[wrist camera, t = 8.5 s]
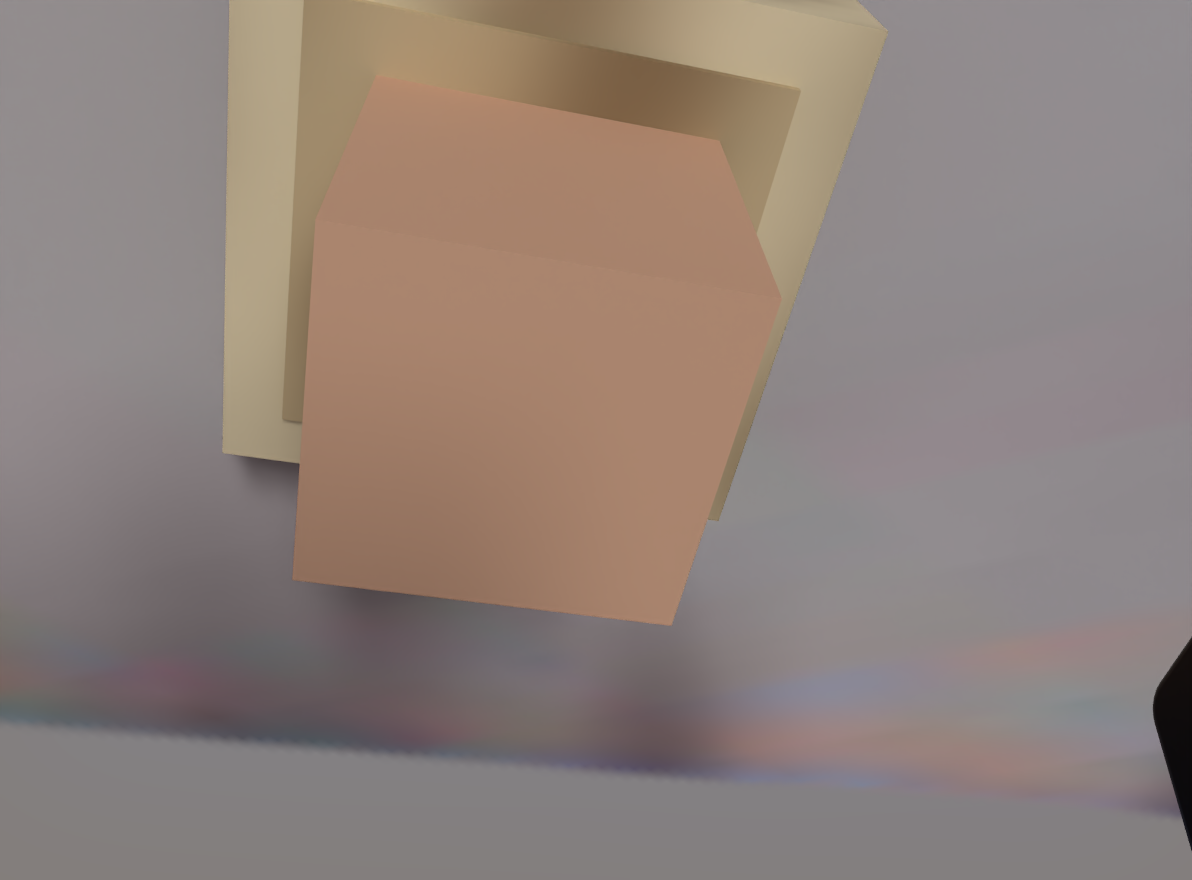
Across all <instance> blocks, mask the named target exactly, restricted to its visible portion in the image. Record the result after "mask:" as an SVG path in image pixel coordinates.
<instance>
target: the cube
mask: <svg viewBox="0 0 1192 880" xmlns="http://www.w3.org/2000/svg"><path fill="white" fill-rule="evenodd" d="M781 300H782V297H781V295H780V292H779V290H778V287H777V285H776V282H775V280H774V277H773V274H772V272H771V269H770V267H769V264H768V262H767V259H766V257H765V254H764V252H763V249H762V247H761V244H760V242H759V239H758V237H757V234H756V232H755V229H754V227H753V224H752V221H751V219H750V216H749V214H748V211H747V209H746V206H745V204H744V201H743V199H742V196H741V194H740V191H739V189H738V186H737V184H736V181H735V179H734V176H733V174H732V171H731V168H730V166H729V163H728V161H727V158H726V156H725V153H724V151H723V148H722V146H721V143H720V141H719V140H713V139H708V138H703V137H698V136H692V135H687V134H682V133H677V132H672V131H666V130H661V129H656V128H651V127H645V126H640V125H635V124H630V123H625V122H619V121H614V120H609V119H604V118H598V117H593V116H588V115H583V114H578V113H572V112H567V111H562V110H557V109H551V108H546V107H541V106H536V105H531V104H525V103H520V102H515V101H510V100H504V99H499V98H494V97H489V96H484V95H478V94H473V93H468V92H463V91H457V90H452V89H447V88H442V87H437V86H431V85H426V84H421V83H416V82H410V81H405V80H400V79H395V78H390V77H384V76H379V75H376V76H375V79H374V81H373V84H372V86H371V88H370V91H369V93H368V95H367V98H366V100H365V103H364V105H363V107H362V110H361V112H360V114H359V117H358V119H357V122H356V124H355V126H354V129H353V131H352V133H351V136H350V138H349V141H348V143H347V145H346V148H345V150H344V152H343V155H342V157H341V160H340V162H339V164H338V167H337V169H336V171H335V174H334V176H333V179H332V181H331V183H330V186H329V188H328V190H327V193H326V195H325V198H324V200H323V202H322V205H321V207H320V209H319V212H318V214H317V217H316V219H315V233H314V249H313V264H312V280H311V296H310V311H309V327H308V342H307V358H306V374H305V389H304V405H303V420H302V436H301V452H300V467H299V483H298V498H297V514H296V530H295V545H294V561H293V577H292V580H296V581H304V582H312V583H320V584H329V585H337V586H345V587H354V588H362V589H370V590H379V591H387V592H395V593H403V594H412V595H420V596H428V597H437V598H445V599H453V600H462V601H470V602H478V603H487V604H495V605H503V606H511V607H520V608H528V609H536V610H545V611H553V612H561V613H570V614H578V615H586V616H594V617H603V618H611V619H619V620H628V621H636V622H644V623H653V624H661V625H669V626H671V625H672V623H673V620H674V617H675V614H676V611H677V608H678V605H679V602H680V599H681V596H682V593H683V590H684V587H685V584H686V581H687V578H688V575H689V572H690V569H691V566H692V563H693V560H694V558H695V555H696V552H697V549H698V546H699V543H700V540H701V537H702V534H703V531H704V528H705V525H706V522H707V519H708V516H709V513H710V510H711V507H712V504H713V501H714V498H715V495H716V493H717V490H718V487H719V484H720V481H721V478H722V475H723V472H724V469H725V466H726V463H727V460H728V457H729V454H730V451H731V448H732V445H733V442H734V439H735V436H736V433H737V430H738V427H739V425H740V422H741V419H742V416H743V413H744V410H745V407H746V404H747V401H748V398H749V395H750V392H751V389H752V386H753V383H754V380H755V377H756V374H757V371H758V368H759V365H760V362H761V360H762V357H763V354H764V351H765V348H766V345H767V342H768V339H769V336H770V333H771V330H772V327H773V324H774V321H775V318H776V315H777V312H778V309H779V306H780V303H781Z"/></svg>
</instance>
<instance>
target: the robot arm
mask: <svg viewBox="0 0 1192 880" xmlns="http://www.w3.org/2000/svg"><path fill="white" fill-rule="evenodd" d="M1153 717H1154V722H1155V726H1156V729H1157V733H1158V736H1159V740H1160V743H1161V746H1162V750H1163V753H1164V757H1165V760H1166V764H1167V767H1168V771H1169V774H1170V778H1171V781H1172V785H1173V788H1174V791H1175V795H1176V798H1177V802H1178V805H1179V809H1180V812H1181V816H1182V819H1183V823H1184V826H1185V830H1186V833H1187V836H1188V840H1189V843H1190V846H1191V850H1192V637H1191V639H1190V640H1189V642H1188V643H1187V645H1186V646H1185V647H1184V649H1183V650H1182V652H1181V653H1180V655H1179V656H1178V658H1177V659H1176V660H1175V662H1174V663H1173V665H1172V666H1171V668H1170V669H1169V671H1168V672H1167V674H1166V675H1165V676H1164V678H1163V679H1162V681H1161V682H1160V684H1159V686H1158V687H1157V690H1156V693H1155V696H1154V702H1153Z"/></svg>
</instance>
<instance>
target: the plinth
mask: <svg viewBox="0 0 1192 880" xmlns="http://www.w3.org/2000/svg"><path fill="white" fill-rule="evenodd" d="M887 34H888V31H887V30H886V29H885V28H884V27H883V26H882V25H881V24H880V23H879V22H878V21H877V20H876V19H875V18H874V17H873V16H872V15H871V14H870V13H869V12H868V11H867V10H866V9H865V8H864V7H863V6H862V5H861V4H860V3H859V2H858V1H857V0H230V3H229V68H228V133H227V198H226V263H225V329H224V394H223V453H226V454H234V455H241V456H248V457H256V458H263V459H270V460H277V461H285V462H292V463H299V464H300V452H301V436H302V420H303V405H304V389H305V374H306V358H307V342H308V327H309V311H310V296H311V280H312V264H313V249H314V233H315V219H316V217H317V214H318V212H319V209H320V207H321V205H322V202H323V200H324V198H325V195H326V193H327V190H328V188H329V186H330V183H331V181H332V179H333V176H334V174H335V171H336V169H337V167H338V164H339V162H340V160H341V157H342V155H343V152H344V150H345V148H346V145H347V143H348V141H349V138H350V136H351V133H352V131H353V129H354V126H355V124H356V122H357V119H358V117H359V114H360V112H361V110H362V107H363V105H364V103H365V100H366V98H367V95H368V93H369V91H370V88H371V86H372V84H373V81H374V79H375V76H376V75H379V76H384V77H390V78H395V79H400V80H405V81H410V82H416V83H421V84H426V85H431V86H437V87H442V88H447V89H452V90H457V91H463V92H468V93H473V94H478V95H484V96H489V97H494V98H499V99H504V100H510V101H515V102H520V103H525V104H531V105H536V106H541V107H546V108H551V109H557V110H562V111H567V112H572V113H578V114H583V115H588V116H593V117H598V118H604V119H609V120H614V121H619V122H625V123H630V124H635V125H640V126H645V127H651V128H656V129H661V130H666V131H672V132H677V133H682V134H687V135H692V136H698V137H703V138H708V139H713V140H719V141H720V143H721V146H722V148H723V151H724V153H725V156H726V158H727V161H728V163H729V166H730V168H731V171H732V174H733V176H734V179H735V181H736V184H737V186H738V189H739V191H740V194H741V196H742V199H743V201H744V204H745V206H746V209H747V211H748V214H749V216H750V219H751V221H752V224H753V227H754V229H755V232H756V234H757V237H758V239H759V242H760V244H761V247H762V249H763V252H764V254H765V257H766V259H767V262H768V264H769V267H770V269H771V272H772V274H773V277H774V280H775V282H776V285H777V287H778V290H779V292H780V295H781V297H782V300H781V303H780V306H779V309H778V312H777V315H776V318H775V321H774V324H773V327H772V330H771V333H770V336H769V339H768V342H767V345H766V348H765V351H764V354H763V357H762V360H761V362H760V365H759V368H758V371H757V374H756V377H755V380H754V383H753V386H752V389H751V392H750V395H749V398H748V401H747V404H746V407H745V410H744V413H743V416H742V419H741V422H740V425H739V427H738V430H737V433H736V436H735V439H734V442H733V445H732V448H731V451H730V454H729V457H728V460H727V463H726V466H725V469H724V472H723V475H722V478H721V481H720V484H719V487H718V490H717V493H716V495H715V498H714V501H713V504H712V507H711V510H710V513H709V516H708V520H715V521H719V518H720V515H721V512H722V509H723V506H724V503H725V500H726V498H727V495H728V492H729V489H730V486H731V483H732V480H733V477H734V475H735V472H736V469H737V466H738V463H739V460H740V457H741V454H742V451H743V449H744V446H745V443H746V440H747V437H748V434H749V431H750V428H751V426H752V423H753V420H754V417H755V414H756V411H757V408H758V405H759V403H760V400H761V397H762V394H763V391H764V388H765V385H766V382H767V379H768V377H769V374H770V371H771V368H772V365H773V362H774V359H775V356H776V354H777V351H778V348H779V345H780V342H781V339H782V336H783V333H784V330H785V328H786V325H787V322H788V319H789V316H790V313H791V310H792V307H793V305H794V302H795V299H796V296H797V293H798V290H799V287H800V284H801V282H802V279H803V276H804V273H805V270H806V267H807V264H808V261H809V258H810V256H811V253H812V250H813V247H814V244H815V241H816V238H817V235H818V233H819V230H820V227H821V224H822V221H823V218H824V215H825V212H826V210H827V207H828V204H829V201H830V198H831V195H832V192H833V189H834V186H835V184H836V181H837V178H838V175H839V172H840V169H841V166H842V163H843V161H844V158H845V155H846V152H847V149H848V146H849V143H850V140H851V137H852V135H853V132H854V129H855V126H856V123H857V120H858V117H859V114H860V112H861V109H862V106H863V103H864V100H865V97H866V94H867V91H868V89H869V86H870V83H871V80H872V77H873V74H874V71H875V68H876V65H877V63H878V60H879V57H880V54H881V51H882V48H883V45H884V42H885V40H886V37H887Z"/></svg>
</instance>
